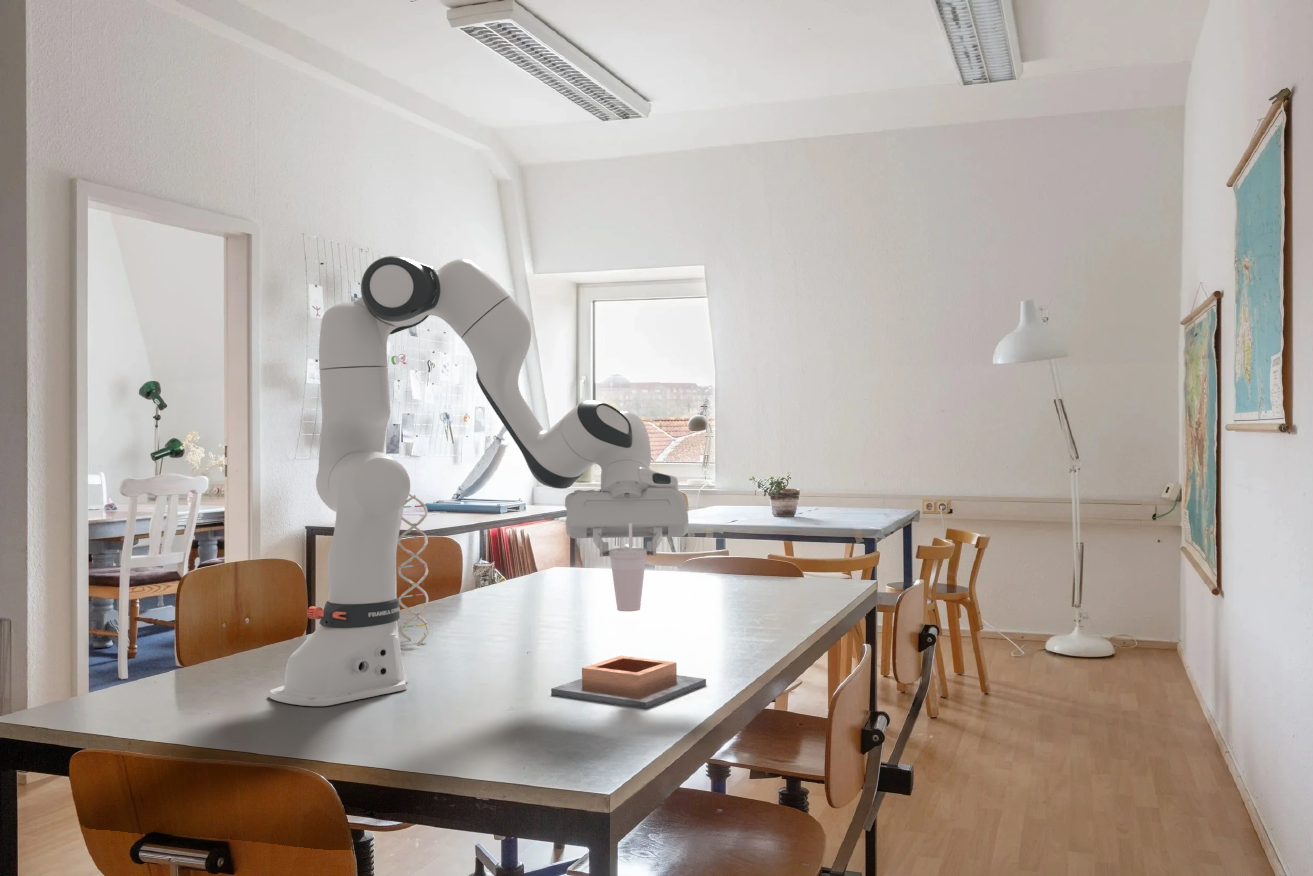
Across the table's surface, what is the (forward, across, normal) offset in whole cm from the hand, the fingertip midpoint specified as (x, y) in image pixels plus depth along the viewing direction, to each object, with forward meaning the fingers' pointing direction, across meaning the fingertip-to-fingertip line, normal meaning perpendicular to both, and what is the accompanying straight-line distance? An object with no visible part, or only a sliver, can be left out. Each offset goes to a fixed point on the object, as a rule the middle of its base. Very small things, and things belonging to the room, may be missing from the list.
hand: (627, 553), depth 169 cm
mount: (+15, 0, +16) cm, 22 cm away
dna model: (-16, -43, +48) cm, 66 cm away
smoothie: (+6, 0, +7) cm, 9 cm away
